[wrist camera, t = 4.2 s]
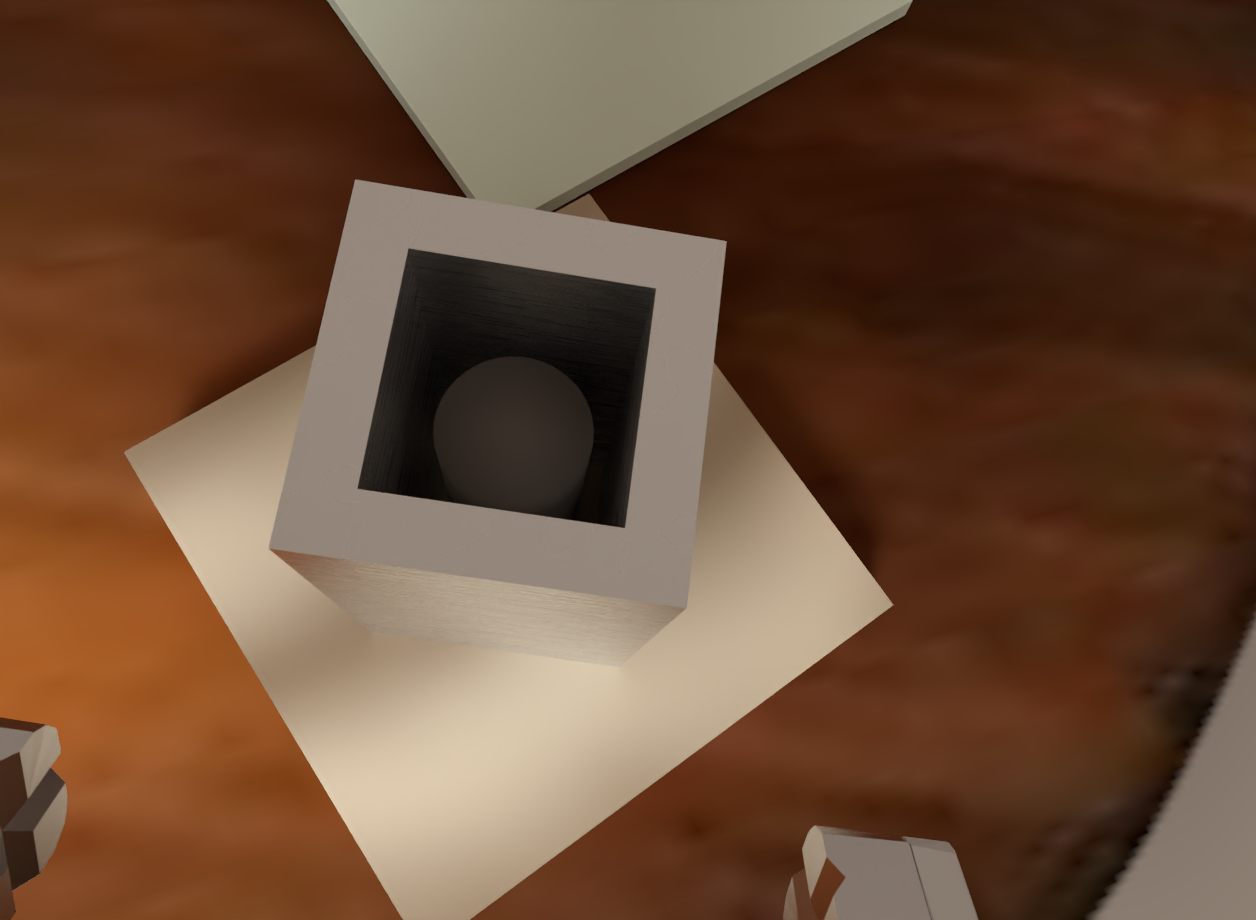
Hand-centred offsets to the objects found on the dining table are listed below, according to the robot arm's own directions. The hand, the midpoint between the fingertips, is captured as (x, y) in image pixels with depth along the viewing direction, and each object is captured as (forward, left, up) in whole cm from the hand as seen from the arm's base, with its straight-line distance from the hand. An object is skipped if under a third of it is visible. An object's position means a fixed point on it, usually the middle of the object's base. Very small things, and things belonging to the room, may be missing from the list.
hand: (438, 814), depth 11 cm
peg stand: (-4, +4, -12) cm, 13 cm away
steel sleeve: (-4, +4, -10) cm, 11 cm away
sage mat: (-18, +15, -12) cm, 26 cm away
